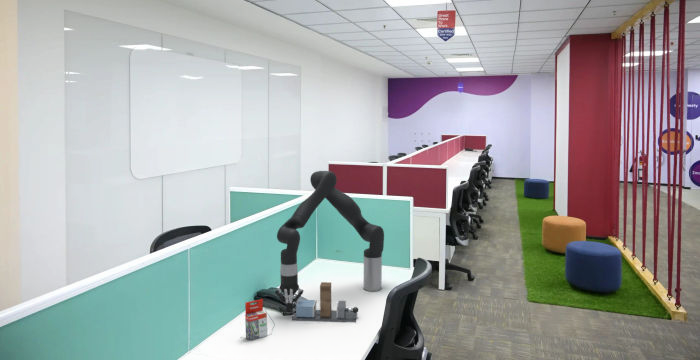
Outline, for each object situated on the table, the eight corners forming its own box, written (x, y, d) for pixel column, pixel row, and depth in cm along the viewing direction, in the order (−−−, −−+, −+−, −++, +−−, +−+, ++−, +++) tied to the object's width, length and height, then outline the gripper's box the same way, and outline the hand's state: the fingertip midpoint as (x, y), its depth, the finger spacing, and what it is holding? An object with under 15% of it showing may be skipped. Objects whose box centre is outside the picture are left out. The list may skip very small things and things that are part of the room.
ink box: (267, 336, 202) (266, 301, 200) (249, 340, 197) (248, 305, 195) (263, 332, 205) (263, 298, 203) (245, 337, 200) (244, 302, 198)
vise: (295, 311, 227) (295, 298, 226) (359, 313, 225) (359, 300, 224) (291, 320, 217) (291, 307, 216) (357, 322, 215) (357, 308, 214)
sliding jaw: (299, 309, 226) (299, 299, 225) (316, 310, 225) (316, 300, 225) (296, 316, 218) (296, 306, 217) (313, 317, 217) (313, 306, 217)
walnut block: (321, 312, 223) (321, 282, 221) (331, 312, 223) (331, 282, 221) (320, 316, 219) (320, 285, 217) (330, 316, 218) (330, 285, 217)
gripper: (305, 270, 223) (305, 307, 225) (276, 269, 224) (276, 306, 226) (302, 275, 216) (303, 314, 218) (272, 275, 217) (273, 313, 219)
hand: (289, 310), depth 222 cm, fingers closed
